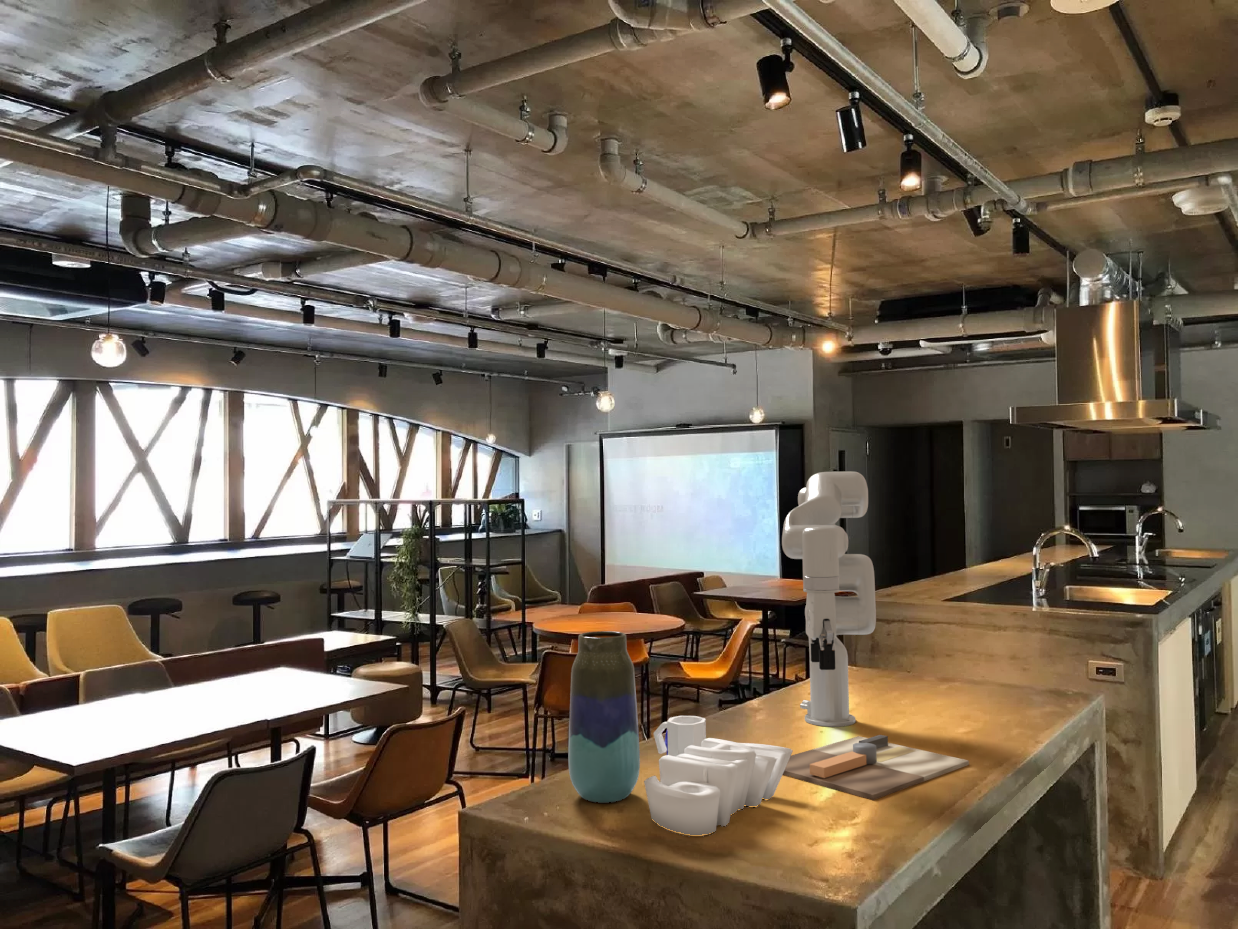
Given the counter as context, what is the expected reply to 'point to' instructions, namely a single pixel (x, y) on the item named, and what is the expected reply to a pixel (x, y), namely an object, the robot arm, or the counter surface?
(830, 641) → the robot arm
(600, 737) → the vase
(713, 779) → the wavy white extrusion
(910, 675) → the counter surface
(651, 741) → the counter surface
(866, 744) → the bar
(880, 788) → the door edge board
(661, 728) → the mug
